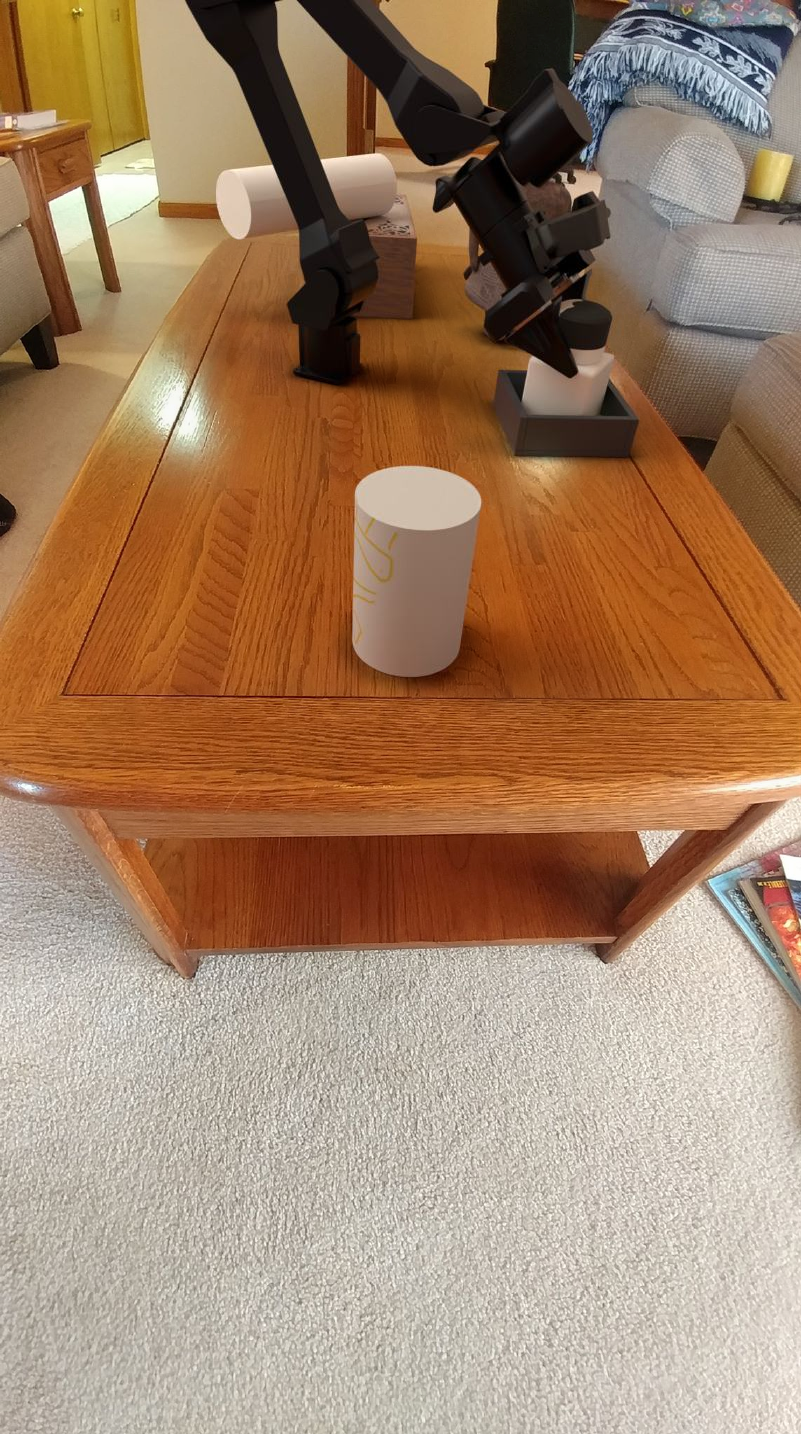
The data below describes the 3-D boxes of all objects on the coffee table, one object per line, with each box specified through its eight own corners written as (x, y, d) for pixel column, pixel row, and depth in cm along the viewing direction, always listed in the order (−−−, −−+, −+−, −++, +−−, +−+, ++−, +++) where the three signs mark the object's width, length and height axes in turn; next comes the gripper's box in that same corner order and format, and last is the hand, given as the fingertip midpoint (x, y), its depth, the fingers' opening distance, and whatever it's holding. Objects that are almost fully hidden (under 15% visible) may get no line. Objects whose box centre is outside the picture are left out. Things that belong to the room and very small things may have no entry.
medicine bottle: (598, 419, 85) (629, 304, 77) (577, 442, 81) (606, 322, 72) (540, 402, 87) (563, 288, 79) (516, 424, 83) (538, 305, 74)
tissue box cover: (412, 318, 108) (417, 238, 101) (310, 314, 107) (308, 232, 99) (402, 266, 126) (405, 194, 119) (315, 261, 125) (313, 189, 117)
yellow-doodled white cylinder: (350, 607, 59) (352, 464, 51) (452, 607, 60) (471, 466, 52) (354, 677, 54) (357, 529, 45) (467, 676, 54) (491, 530, 46)
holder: (514, 455, 79) (520, 417, 76) (493, 405, 88) (498, 369, 85) (628, 457, 81) (639, 419, 78) (596, 407, 90) (605, 372, 87)
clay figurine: (540, 326, 109) (579, 105, 91) (558, 351, 102) (604, 117, 84) (452, 324, 107) (475, 98, 89) (464, 349, 100) (491, 111, 83)
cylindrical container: (256, 236, 93) (400, 212, 106) (242, 165, 89) (392, 149, 102) (225, 241, 97) (366, 217, 110) (209, 174, 93) (358, 157, 106)
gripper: (539, 176, 62) (632, 345, 67) (598, 147, 74) (673, 292, 79) (443, 265, 70) (532, 411, 75) (510, 225, 82) (583, 353, 87)
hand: (584, 363), depth 79 cm, fingers closed on medicine bottle, 7 cm apart
